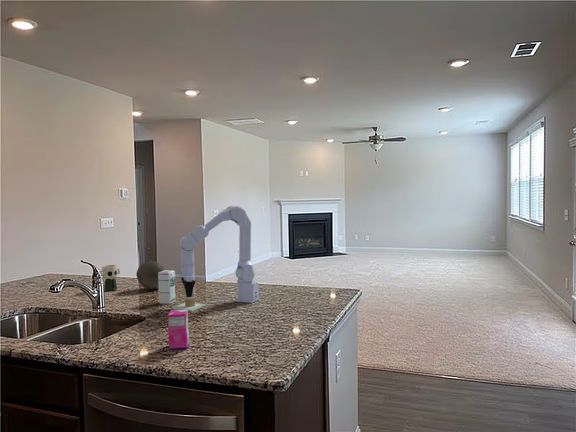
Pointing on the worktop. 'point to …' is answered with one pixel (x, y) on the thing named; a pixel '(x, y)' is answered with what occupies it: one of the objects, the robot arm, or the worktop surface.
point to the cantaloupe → (149, 274)
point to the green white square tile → (192, 308)
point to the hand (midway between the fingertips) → (188, 295)
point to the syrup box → (167, 287)
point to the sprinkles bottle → (190, 300)
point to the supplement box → (178, 329)
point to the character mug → (110, 276)
